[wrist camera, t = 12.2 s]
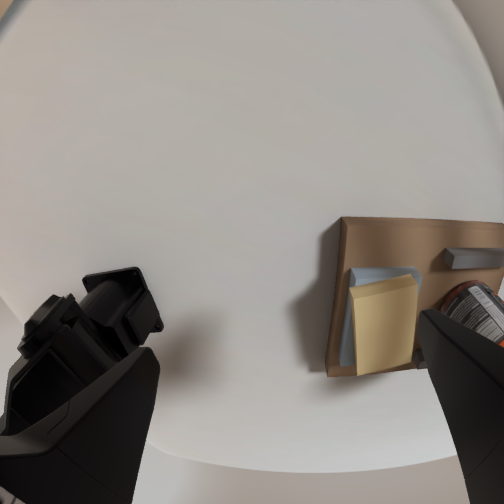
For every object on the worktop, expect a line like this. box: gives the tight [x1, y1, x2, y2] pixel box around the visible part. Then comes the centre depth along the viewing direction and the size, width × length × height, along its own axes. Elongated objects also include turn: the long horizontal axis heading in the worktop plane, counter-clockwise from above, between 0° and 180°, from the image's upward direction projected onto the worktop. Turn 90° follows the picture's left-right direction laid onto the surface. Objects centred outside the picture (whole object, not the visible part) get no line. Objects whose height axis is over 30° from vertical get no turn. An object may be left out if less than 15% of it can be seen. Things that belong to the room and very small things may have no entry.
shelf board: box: [325, 217, 504, 377], centre depth 20 cm, size 16×14×5 cm
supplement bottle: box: [440, 280, 504, 347], centre depth 15 cm, size 6×6×11 cm
